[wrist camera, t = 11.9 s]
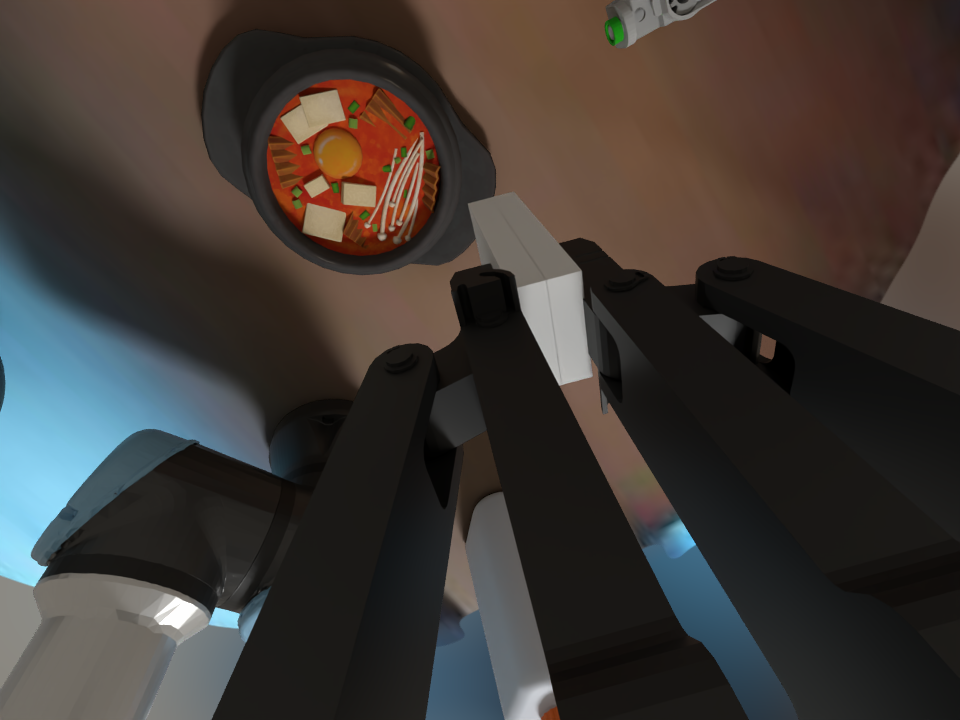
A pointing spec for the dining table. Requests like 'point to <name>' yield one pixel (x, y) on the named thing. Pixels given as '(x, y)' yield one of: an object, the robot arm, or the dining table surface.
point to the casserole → (345, 150)
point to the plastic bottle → (508, 615)
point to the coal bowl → (2, 383)
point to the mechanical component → (645, 17)
